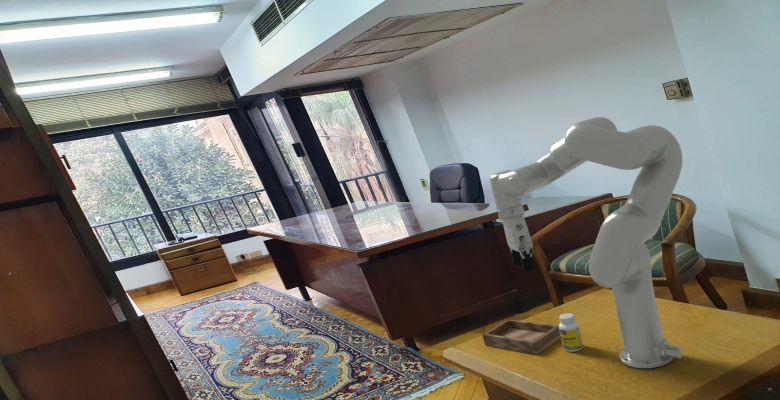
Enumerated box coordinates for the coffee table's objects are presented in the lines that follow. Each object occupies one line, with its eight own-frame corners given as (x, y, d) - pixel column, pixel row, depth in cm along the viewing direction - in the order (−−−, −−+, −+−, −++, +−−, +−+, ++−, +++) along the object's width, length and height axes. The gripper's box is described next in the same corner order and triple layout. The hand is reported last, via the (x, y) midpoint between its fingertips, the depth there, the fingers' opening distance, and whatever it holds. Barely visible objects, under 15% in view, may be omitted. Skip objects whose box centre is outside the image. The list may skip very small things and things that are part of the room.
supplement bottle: (560, 351, 151) (553, 319, 150) (568, 343, 155) (560, 311, 154) (579, 353, 148) (571, 319, 147) (586, 344, 152) (579, 312, 151)
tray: (562, 336, 161) (559, 325, 161) (537, 354, 153) (534, 343, 153) (510, 329, 177) (507, 319, 176) (484, 345, 169) (482, 334, 168)
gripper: (532, 211, 149) (546, 269, 150) (514, 207, 166) (526, 259, 167) (507, 218, 148) (521, 276, 150) (491, 213, 166) (504, 265, 167)
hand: (524, 267), depth 158 cm, fingers open, 9 cm apart
